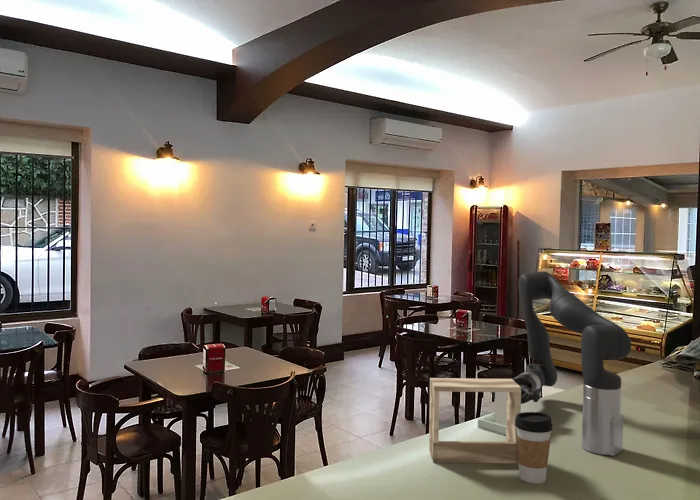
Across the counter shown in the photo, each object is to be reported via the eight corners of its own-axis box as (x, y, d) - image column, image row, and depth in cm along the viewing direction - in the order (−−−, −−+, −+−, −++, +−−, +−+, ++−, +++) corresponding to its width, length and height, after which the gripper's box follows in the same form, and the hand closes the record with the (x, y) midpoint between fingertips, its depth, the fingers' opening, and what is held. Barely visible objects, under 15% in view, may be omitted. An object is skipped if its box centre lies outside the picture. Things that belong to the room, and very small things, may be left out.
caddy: (500, 421, 171) (501, 380, 171) (516, 425, 168) (517, 383, 168) (494, 426, 167) (495, 384, 166) (511, 429, 164) (512, 386, 164)
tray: (533, 428, 167) (533, 419, 167) (513, 438, 159) (513, 429, 159) (498, 418, 176) (498, 410, 176) (477, 427, 167) (477, 419, 167)
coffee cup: (553, 487, 129) (555, 422, 128) (515, 484, 130) (516, 419, 130) (548, 472, 137) (550, 411, 136) (512, 469, 138) (513, 408, 138)
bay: (429, 449, 150) (429, 378, 150) (510, 450, 150) (511, 378, 149) (433, 462, 142) (434, 386, 141) (519, 463, 142) (521, 387, 141)
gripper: (504, 370, 186) (485, 381, 173) (548, 377, 178) (532, 389, 164) (503, 393, 186) (484, 405, 173) (547, 401, 178) (531, 414, 165)
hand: (508, 397), depth 169 cm, fingers open, 8 cm apart
